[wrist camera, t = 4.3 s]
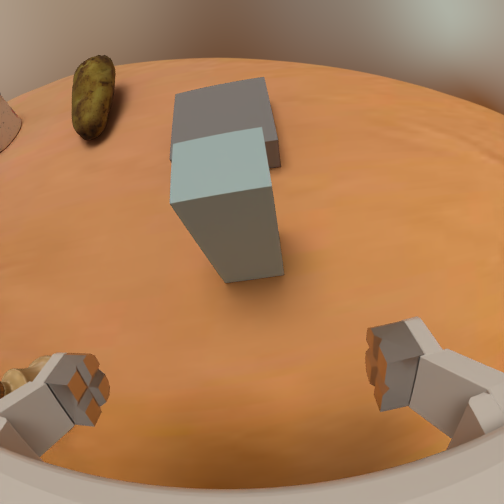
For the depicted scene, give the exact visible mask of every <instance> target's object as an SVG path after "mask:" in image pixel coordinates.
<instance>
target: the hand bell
mask: <svg viewBox="0 0 504 504" xmlns="http://www.w3.org/2000/svg"><path fill="white" fill-rule="evenodd" d="M50 358H51V356H42V357H39V358H38V359H36V360H35V361H33V362H32V363H31V364H30V366H29V367H28V368H25V369H10V370H8V371H7V372H6V373H5V374H4V376H3V379H2V382H0V399H1V398H3V397H4V396H6V395H8V394H9V393H11V392H13V391H14V390H16V389H18V388H19V387H21V386H23V385H24V384H26V383H28V382H29V381H30V382H33V380H34V379H35V378H36V376H37V375H38V374H39V372H40V371H41V370H42V368H43V367H44V366H45V364H46V363H47V362H48V360H49V359H50Z"/></svg>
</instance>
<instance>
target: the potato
mask: <svg viewBox="0 0 504 504" xmlns="http://www.w3.org/2000/svg"><path fill="white" fill-rule="evenodd" d="M114 86H115V68H114V65H113V62H112V60H111V59H110V58H109V57H107V56H105V55H104V56H100V55H98V56H95V57H91V58H89V59H87V60H86V61H84V62H83V63H82V64H80V65H79V67H78V68H77V70H76V71H75V74H74V79H73V87H72V88H73V89H72V123H73V127H74V129H75V131H76V132H77V133H78V134H79V135H80V136H81V137H82V138H83V139H85V140H90V139H94V138H96V137H97V136H99V135H100V134H101V133H102V132H103V130H104V129H105V127H106V124H107V121H108V120H107V119H108V118H107V115H108V113H109V110H110V108H111V104H112V100H113V95H114Z"/></svg>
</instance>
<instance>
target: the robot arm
mask: <svg viewBox="0 0 504 504" xmlns="http://www.w3.org/2000/svg"><path fill="white" fill-rule="evenodd" d="M366 341H367V343H368V345H369V349H368V350H367V351H366V356H365V363H366V372H367V376H368V379H369V382H370V384H371V385H373V386H375V390H374V396H375V399H376V402H377V405H378V407H379V410H380V412H382V411H387V410H392V409H396V408H401V407H405V406H409V407H410V408H411V409H413V410H414V411H415V412H417V413H418V414H419V415H421V416H422V417H423V418H425V419H426V420H427V421H429V422H430V423H431V424H433V425H434V426H435V427H437V428H438V429H439V430H441V431H442V432H443V433H445V434H446V435H448V436H449V437H450V438H452V440H451V442H450V444H449V446H448V448H447V449H446V451H443V452H440V453H438V454H435V455H432V456H429V457H426V458H423V459H420V460H416V461H413V462H410V463H407V464H403V465H400V466H396V467H392V468H388V469H385V470H381V471H376V472H372V473H368V474H363V475H359V476H354V477H349V478H343V479H338V480H332V481H326V482H319V483H312V484H304V485H295V486H285V487H272V488H255V489H197V488H180V487H168V486H158V485H149V484H141V483H134V482H128V481H121V480H116V479H110V478H105V477H100V476H95V475H90V474H86V473H82V472H78V471H74V470H70V469H66V468H62V467H59V466H55V465H52V464H48V463H45V462H43V461H42V459H41V458H40V456H42V455H43V454H44V453H45V452H46V451H47V450H48V449H49V448H50V447H51V446H53V445H54V444H55V443H56V442H57V441H58V440H59V439H60V438H61V437H62V436H64V435H65V434H66V433H67V432H68V431H69V430H70V429H71V428H72V427H73V426H74V424H77V425H85V426H94V427H95V425H96V423H97V421H98V419H99V417H100V414H101V412H102V411H101V408H100V406H102V405H103V404H104V403H106V402H107V400H108V397H109V393H110V385H109V381H108V379H107V377H106V375H105V374H104V373H103V372H102V371H100V370H99V362H98V360H97V358H96V357H95V356H94V355H92V354H85V353H55V354H53V355H52V356H51V358H50V359H49V360H48V362H47V363H46V364H45V366H44V367H43V368H42V370H41V371H40V372H39V374H38V375H37V376H36V378H35V379H34V380H33V382H30V381H29V382H28V383H26V384H24V385H23V386H21V387H19V388H18V389H16V390H14V391H13V392H11V393H9V394H8V395H6V396H4V397H3V398H1V399H0V504H504V373H503V372H500V371H498V370H496V369H493V368H491V367H489V366H486V365H484V364H482V363H479V362H477V361H475V360H472V359H470V358H468V357H465V356H463V355H461V354H458V353H456V352H454V351H452V350H449V349H445V350H443V349H442V348H441V346H440V345H439V344H438V342H437V341H436V339H435V338H434V336H433V335H432V334H431V332H430V331H429V329H428V328H427V327H426V325H425V324H424V323H423V321H422V320H421V318H419V317H413V318H409V319H405V320H401V321H399V322H395V323H390V324H385V325H380V326H375V327H370V328H368V329H367V335H366Z"/></svg>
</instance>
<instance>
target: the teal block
mask: <svg viewBox="0 0 504 504" xmlns="http://www.w3.org/2000/svg"><path fill="white" fill-rule="evenodd" d="M170 205H171V206H172V208H173V209H174V211H175V212H176V213H177V215H178V216H179V218H180V219H181V221H182V222H183V224H184V225H185V227H186V228H187V230H188V231H189V232H190V234H191V235H192V237H193V238H194V240H195V241H196V243H197V244H198V245H199V247H200V248H201V250H202V251H203V253H204V254H205V255H206V257H207V258H208V260H209V261H210V262H211V264H212V265H213V267H214V268H215V270H216V271H217V272H218V274H219V275H220V277H221V278H222V279H223V281H224V282H225V283H230V282H238V281H245V280H252V279H260V278H267V277H274V276H281V275H284V269H283V261H282V254H281V247H280V239H279V232H278V225H277V218H276V211H275V204H274V197H273V191H272V184H271V178H270V172H269V166H268V160H267V154H266V148H265V142H264V136H263V131H262V127H258V128H252V129H246V130H240V131H234V132H229V133H223V134H218V135H213V136H208V137H203V138H198V139H193V140H188V141H184V142H179V143H175V144H173V150H172V166H171V186H170Z"/></svg>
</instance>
